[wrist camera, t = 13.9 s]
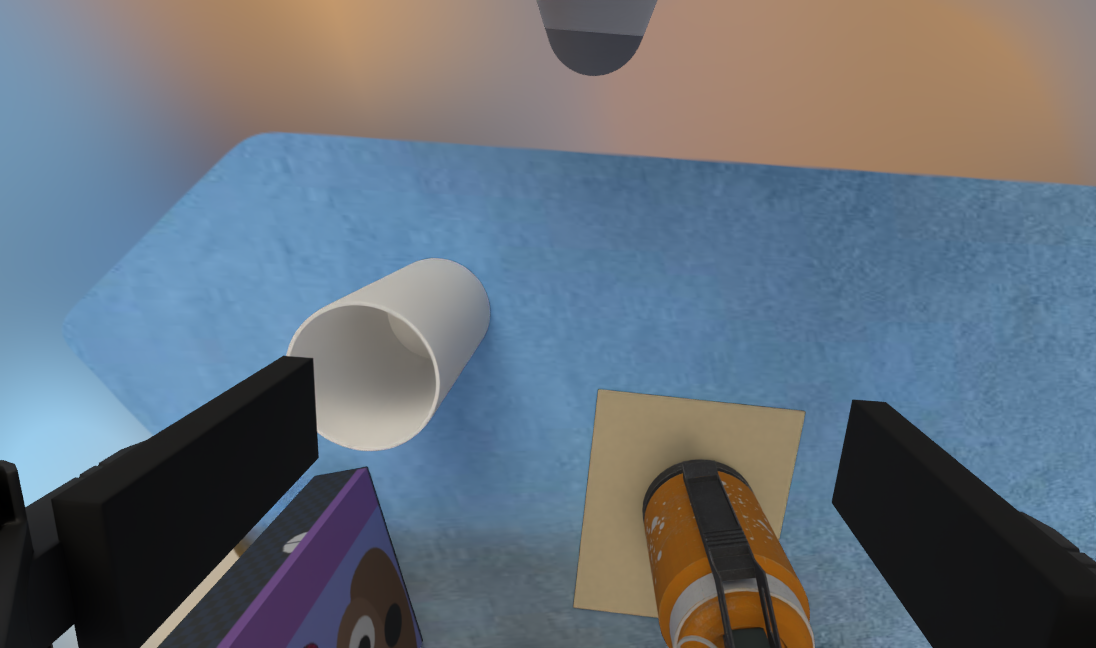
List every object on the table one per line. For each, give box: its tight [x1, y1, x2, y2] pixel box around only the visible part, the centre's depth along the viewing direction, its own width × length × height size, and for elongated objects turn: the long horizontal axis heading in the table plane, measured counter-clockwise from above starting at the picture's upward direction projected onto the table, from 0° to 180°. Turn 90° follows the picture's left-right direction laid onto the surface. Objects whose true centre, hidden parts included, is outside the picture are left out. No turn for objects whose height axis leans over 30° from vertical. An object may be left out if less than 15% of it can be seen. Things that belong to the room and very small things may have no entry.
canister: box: [642, 459, 815, 648], centre depth 38 cm, size 9×11×20 cm
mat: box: [573, 389, 805, 618], centre depth 49 cm, size 20×16×1 cm
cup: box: [287, 258, 490, 451], centre depth 39 cm, size 8×8×16 cm
